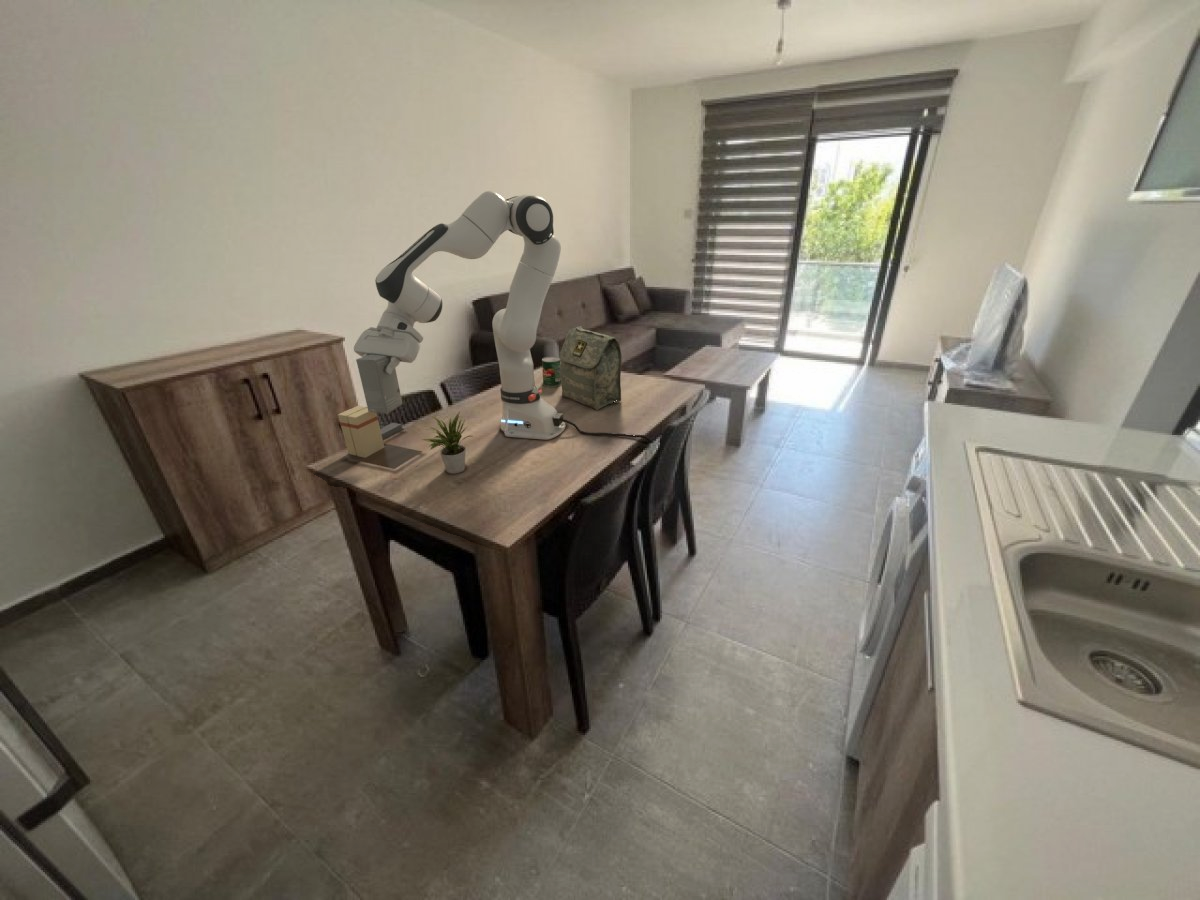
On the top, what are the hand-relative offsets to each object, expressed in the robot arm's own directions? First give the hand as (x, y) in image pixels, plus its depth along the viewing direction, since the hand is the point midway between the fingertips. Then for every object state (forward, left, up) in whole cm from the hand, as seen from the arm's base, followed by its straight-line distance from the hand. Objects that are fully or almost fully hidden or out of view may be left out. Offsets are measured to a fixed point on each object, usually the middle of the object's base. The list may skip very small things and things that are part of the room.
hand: (375, 371), depth 136 cm
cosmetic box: (0, -1, -12) cm, 12 cm away
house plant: (-23, 0, -26) cm, 35 cm away
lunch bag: (-38, -66, -26) cm, 80 cm away
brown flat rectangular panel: (+1, +3, -26) cm, 27 cm away
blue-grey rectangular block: (+10, -9, -26) cm, 30 cm away
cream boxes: (+7, +3, -25) cm, 26 cm away
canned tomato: (-15, -78, -26) cm, 84 cm away
